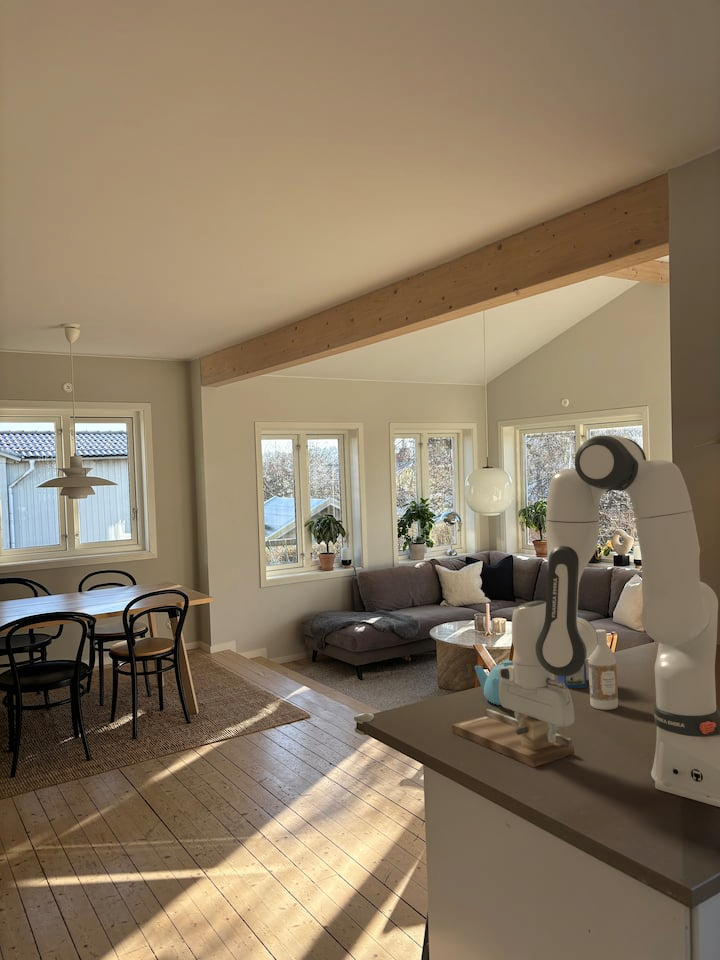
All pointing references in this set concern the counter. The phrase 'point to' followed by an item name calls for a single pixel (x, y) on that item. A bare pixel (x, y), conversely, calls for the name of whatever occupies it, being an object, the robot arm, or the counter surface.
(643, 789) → the counter surface
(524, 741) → the wooden block with pegs
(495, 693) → the teapot
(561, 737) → the walnut board
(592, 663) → the bath foam
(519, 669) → the robot arm
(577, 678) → the milk carton
